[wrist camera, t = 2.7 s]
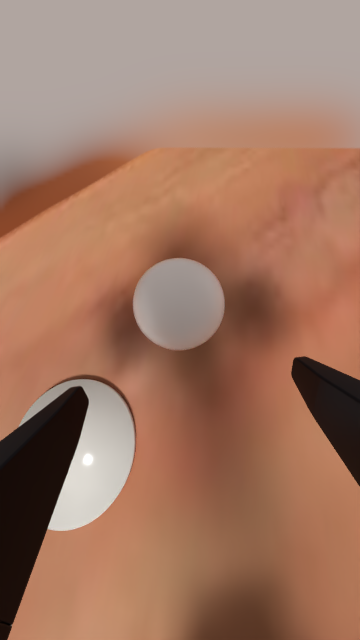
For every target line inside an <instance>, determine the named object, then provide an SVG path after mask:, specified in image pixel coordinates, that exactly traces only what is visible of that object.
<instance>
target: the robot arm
mask: <svg viewBox="0 0 360 640" xmlns="http://www.w3.org/2000/svg"><path fill="white" fill-rule="evenodd" d="M291 374H292V378H293V380H294V382H295V384H296V386H297V388H298V390H299V391H300V393H301V395H302V397H303V399H304V401H305V403H306V405H307V406H308V408H309V410H310V412H311V414H312V415H313V417H314V418H315V420H316V422H317V423H318V425H319V426H320V428H321V429H322V431H323V432H324V434H325V435H326V437H327V438H328V440H329V441H330V443H331V444H332V446H333V447H334V449H335V450H336V452H337V453H338V455H339V456H340V458H341V459H342V461H343V462H344V464H345V465H346V467H347V468H348V470H349V471H350V473H351V474H352V476H353V477H354V479H355V480H356V482H357V483H358V485H359V486H360V380H358V379H356V378H353V377H351V376H349V375H347V374H344V373H342V372H340V371H337V370H335V369H333V368H331V367H328V366H326V365H324V364H322V363H319V362H317V361H315V360H313V359H310V358H308V357H305V356H303V357H296V358H294V360H293V366H292V372H291ZM88 406H89V399H88V397H87V395H86V393H85V391H84V389H83V387H81V386H74V387H70V388H69V389H68V390H66V391H65V392H64V393H62V394H61V395H60V396H59V397H57V398H56V399H55V400H53V401H52V402H51V403H49V404H48V405H47V406H46V407H44V408H43V409H42V410H40V411H39V412H38V413H36V414H35V415H34V416H33V417H31V418H30V419H29V420H27V421H26V422H25V423H23V424H22V425H21V426H20V427H18V428H17V429H16V430H14V431H13V432H12V433H10V434H9V435H8V436H7V437H5V438H4V439H3V440H1V441H0V640H7V639H8V636H9V634H10V631H11V628H12V624H13V622H14V619H15V617H16V614H17V611H18V608H19V606H20V603H21V600H22V597H23V595H24V592H25V589H26V586H27V584H28V581H29V578H30V575H31V573H32V570H33V567H34V564H35V562H36V559H37V556H38V553H39V551H40V548H41V545H42V542H43V540H44V537H45V534H46V531H47V528H48V526H49V523H50V520H51V517H52V515H53V512H54V509H55V506H56V504H57V501H58V498H59V495H60V493H61V490H62V487H63V484H64V482H65V479H66V476H67V473H68V471H69V468H70V465H71V462H72V460H73V457H74V454H75V451H76V449H77V446H78V443H79V439H80V436H81V432H82V429H83V425H84V421H85V417H86V413H87V409H88Z"/></svg>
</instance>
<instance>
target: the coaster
mask: <svg viewBox="0 0 360 640" xmlns="http://www.w3.org/2000/svg"><path fill="white" fill-rule="evenodd" d="M74 386H81V387H83V389H84V391H85V393H86V395H87V397H88V399H89V406H88V409H87V413H86V417H85V421H84V425H83V429H82V432H81V436H80V439H79V443H78V446H77V449H76V451H75V454H74V457H73V460H72V462H71V465H70V468H69V471H68V473H67V476H66V479H65V482H64V484H63V487H62V490H61V493H60V495H59V498H58V501H57V504H56V506H55V509H54V512H53V515H52V517H51V520H50V523H49V526H48V528H47V529H50V530H57V531H65V530H72V529H76V528H79V527H82V526H84V525H86V524H88V523H90V522H91V521H93V520H94V519H96V518H98V517H99V516H100V515H101V514H102V513H103V512H104V511H106V510H107V508H108V507H109V506H110V505H111V504H112V503H113V501H114V500H115V499H116V497H117V496H118V494H119V493H120V491H121V490H122V488H123V486H124V485H125V483H126V481H127V479H128V476H129V474H130V471H131V468H132V465H133V461H134V456H135V449H136V431H135V425H134V421H133V417H132V414H131V412H130V409H129V407H128V405H127V404H126V402H125V400H124V399H123V398H122V396H121V395H120V394H119V393H118V392H117V391H116V390H115V389H113V388H112V387H110V386H109V385H107V384H105V383H103V382H100V381H96V380H90V379H77V380H71V381H67V382H64V383H61V384H59V385H57V386H55V387H53V388H52V389H50V390H48V391H47V392H46V393H44V394H43V395H42V396H41V397H40V398H39V399H38V400H37V401H36V402H35V403H34V404H33V405H32V406H31V407H30V409H29V410H28V412H27V413H26V414H25V416H24V418H23V419H22V421H21V423H20V425H19V427H20V426H21V425H22V424H23V423H25V422H26V421H27V420H29V419H30V418H31V417H33V416H34V415H35V414H36V413H38V412H39V411H40V410H42V409H43V408H44V407H46V406H47V405H48V404H49V403H51V402H52V401H53V400H55V399H56V398H57V397H59V396H60V395H61V394H62V393H64V392H65V391H66V390H68V389H69V388H70V387H74Z"/></svg>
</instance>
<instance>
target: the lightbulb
mask: <svg viewBox="0 0 360 640" xmlns="http://www.w3.org/2000/svg"><path fill="white" fill-rule="evenodd" d="M224 311H225V298H224V293H223V289H222V287H221V284H220V282H219V281H218V279H217V277H216V276H215V275H214V274H213V272H212V271H211V270H210V269H208V268H207V267H206V266H204V265H203V264H201V263H199V262H197V261H194V260H191V259H187V258H171V259H167V260H163V261H161V262H159V263H157V264H155V265H153V266H152V267H151V268H149V269H148V270H147V271H146V272H145V273H144V274H143V276H142V277H141V278H140V280H139V282H138V284H137V286H136V288H135V291H134V296H133V312H134V316H135V320H136V322H137V324H138V326H139V328H140V330H141V331H142V333H143V334H144V335H145V336H146V337H147V338H148V339H149V340H150V341H152V342H153V343H155V344H156V345H158V346H160V347H163V348H166V349H170V350H188V349H192V348H195V347H197V346H200V345H201V344H203V343H205V342H206V341H207V340H209V339H210V338H211V337H212V336H213V335H214V334H215V332H216V331H217V329H218V328H219V326H220V324H221V322H222V319H223V316H224Z"/></svg>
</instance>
